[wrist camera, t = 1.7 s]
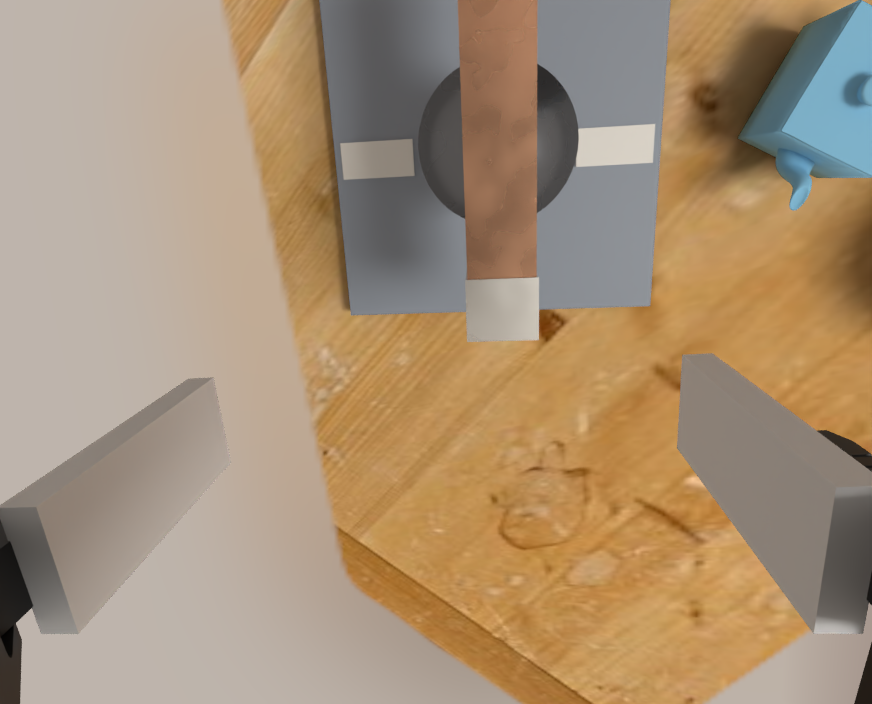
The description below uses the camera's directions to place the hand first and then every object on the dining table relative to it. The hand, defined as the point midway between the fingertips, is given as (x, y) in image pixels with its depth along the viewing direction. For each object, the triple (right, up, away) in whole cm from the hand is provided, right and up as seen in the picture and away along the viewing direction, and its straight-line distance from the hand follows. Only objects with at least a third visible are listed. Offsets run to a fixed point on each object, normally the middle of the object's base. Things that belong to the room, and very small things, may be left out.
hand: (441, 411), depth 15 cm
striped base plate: (+4, +16, +23) cm, 28 cm away
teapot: (+24, +17, +21) cm, 36 cm away
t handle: (+3, +13, +15) cm, 20 cm away
